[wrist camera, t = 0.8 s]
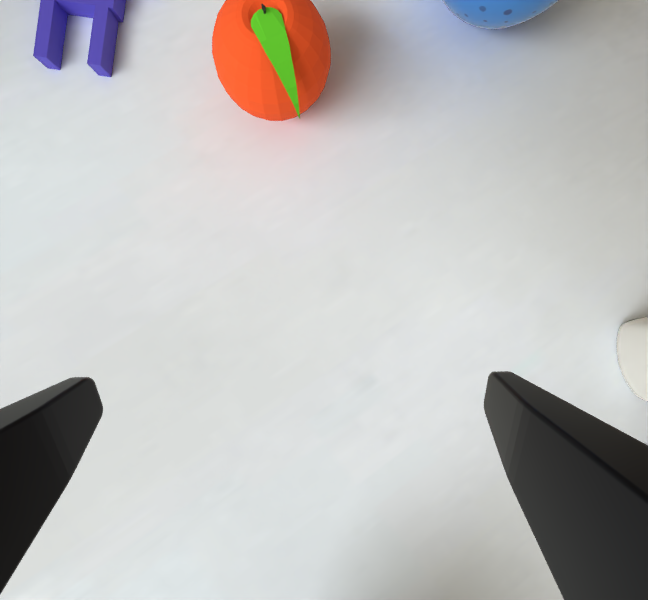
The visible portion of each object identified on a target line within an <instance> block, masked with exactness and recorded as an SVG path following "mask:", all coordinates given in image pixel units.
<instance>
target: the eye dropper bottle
mask: <svg viewBox="0 0 648 600" xmlns="http://www.w3.org/2000/svg"><path fill="white" fill-rule="evenodd" d="M617 357H618V363H619V366H620V370H621V372H622V375H623V377H624V379H625V381H626V383H627V384H628V386H629V387H630V389H631V390H632V392H633V393H634V394H635V395H636V396H637V397H639V398H640V399H642V400H644V401H647V402H648V317H644V318H640V319H636V320H632V321H629V322H626V323H624V324H622V325H621V326H620V328H619V331H618V335H617Z"/></svg>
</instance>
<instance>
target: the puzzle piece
mask: <svg viewBox="0 0 648 600" xmlns="http://www.w3.org/2000/svg"><path fill="white" fill-rule="evenodd" d="M125 4H126V0H41V3H40V10H39V18H38V25H37V32H36V39H35V47H34V54H33V56H34V57H35V58H37V59H38V60H39V61H40V62H41V63H42V64H44V65H45V66H46V67H47V68H50V69H57V70H60V69H61V61H62V54H63V46H64V39H65V31H66V24H67V16H68V15H75V16H82V17H89V18H93V25H92V32H91V39H90V47H89V54H88V61H87V64H88V65H89V66H90V67H91V68H92V69H93V70H94V71H95V72H96V73H97V74H98V75H100V76H107V77H111V76H112V68H113V61H114V53H115V46H116V38H117V31H118V23H119V22H123V19H124V12H125Z"/></svg>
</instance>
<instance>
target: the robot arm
mask: <svg viewBox="0 0 648 600" xmlns="http://www.w3.org/2000/svg"><path fill="white" fill-rule="evenodd" d="M484 410H485V414H486V417H487V420H488V423H489V426H490V429H491V432H492V434H493V437H494V440H495V443H496V446H497V449H498V452H499V455H500V458H501V461H502V464H503V467H504V469H505V472H506V475H507V477H508V480H509V482H510V484H511V487H512V489H513V491H514V493H515V495H516V497H517V500H518V502H519V504H520V506H521V508H522V510H523V512H524V515H525V517H526V519H527V521H528V523H529V525H530V527H531V530H532V532H533V534H534V536H535V538H536V540H537V542H538V545H539V547H540V549H541V551H542V553H543V555H544V558H545V560H546V562H547V564H548V566H549V568H550V570H551V573H552V575H553V577H554V579H555V581H556V583H557V585H558V588H559V590H560V592H561V594H562V596H563V598H564V600H648V445H646V444H644V443H642V442H640V441H638V440H637V439H635V438H633V437H631V436H629V435H627V434H625V433H624V432H622V431H620V430H618V429H616V428H614V427H612V426H611V425H609V424H607V423H605V422H603V421H601V420H599V419H598V418H596V417H594V416H592V415H590V414H588V413H586V412H585V411H583V410H581V409H579V408H577V407H575V406H573V405H572V404H570V403H568V402H566V401H564V400H562V399H560V398H559V397H557V396H555V395H553V394H551V393H549V392H547V391H545V390H544V389H542V388H540V387H538V386H536V385H534V384H533V383H531V382H529V381H527V380H525V379H523V378H521V377H520V376H518V375H516V374H514V373H512V372H508V371H504V372H492V373H490V375H489V377H488V382H487V388H486V393H485V399H484ZM102 413H103V406H102V402H101V399H100V396H99V393H98V390H97V388H96V385H95V382H94V381H93V379H91V378H89V377H73V378H69V379H67V380H65V381H62V382H60V383H58V384H56V385H53V386H51V387H49V388H47V389H44V390H42V391H40V392H38V393H35V394H33V395H31V396H29V397H26V398H24V399H22V400H19V401H17V402H15V403H13V404H10V405H8V406H6V407H4V408H1V409H0V594H1V592H2V591H3V589H4V588H5V586H6V584H7V583H8V581H9V579H10V578H11V576H12V574H13V573H14V571H15V570H16V568H17V566H18V565H19V563H20V561H21V560H22V558H23V556H24V555H25V553H26V552H27V550H28V548H29V547H30V545H31V543H32V542H33V540H34V538H35V537H36V535H37V534H38V532H39V530H40V529H41V527H42V525H43V524H44V522H45V520H46V519H47V517H48V516H49V514H50V512H51V511H52V509H53V507H54V506H55V504H56V502H57V501H58V499H59V498H60V496H61V494H62V493H63V491H64V489H65V488H66V486H67V484H68V482H69V481H70V479H71V477H72V475H73V473H74V471H75V469H76V468H77V466H78V463H79V461H80V459H81V457H82V455H83V453H84V451H85V449H86V447H87V445H88V443H89V441H90V439H91V437H92V435H93V433H94V431H95V429H96V427H97V425H98V423H99V421H100V419H101V416H102Z"/></svg>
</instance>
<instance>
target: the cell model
mask: <svg viewBox="0 0 648 600" xmlns="http://www.w3.org/2000/svg"><path fill="white" fill-rule="evenodd" d="M557 1H559V0H443V2H444V4H445V5H446V6H447V8H448V9H449V10H450V11H451V12H452V13H453V14H454V15H455V16H456V17H458V18H459V19H461V20H462V21H463V22H465V23H468V24H470V25H472V26H475V27H479V28H484V29H501V28H508V27H511V26H515V25H518V24H521V23H524V22H526V21H528V20H530V19H532V18H534V17H536V16H537V15H539V14H541V13H543V12H544V11H546V10H547V9H548V8H550V7H551V6H552V5H554V4H555V3H556V2H557Z"/></svg>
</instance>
